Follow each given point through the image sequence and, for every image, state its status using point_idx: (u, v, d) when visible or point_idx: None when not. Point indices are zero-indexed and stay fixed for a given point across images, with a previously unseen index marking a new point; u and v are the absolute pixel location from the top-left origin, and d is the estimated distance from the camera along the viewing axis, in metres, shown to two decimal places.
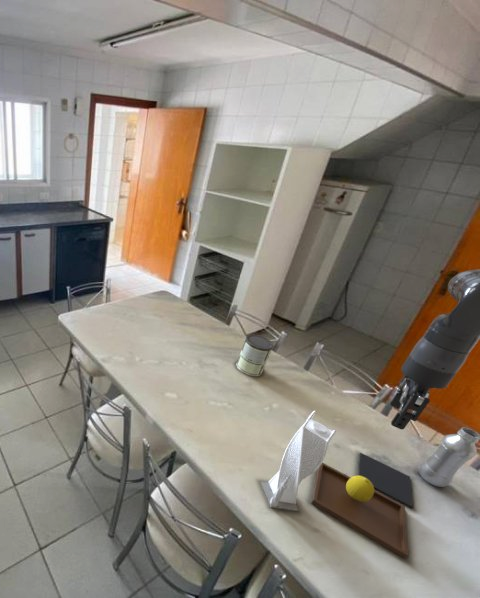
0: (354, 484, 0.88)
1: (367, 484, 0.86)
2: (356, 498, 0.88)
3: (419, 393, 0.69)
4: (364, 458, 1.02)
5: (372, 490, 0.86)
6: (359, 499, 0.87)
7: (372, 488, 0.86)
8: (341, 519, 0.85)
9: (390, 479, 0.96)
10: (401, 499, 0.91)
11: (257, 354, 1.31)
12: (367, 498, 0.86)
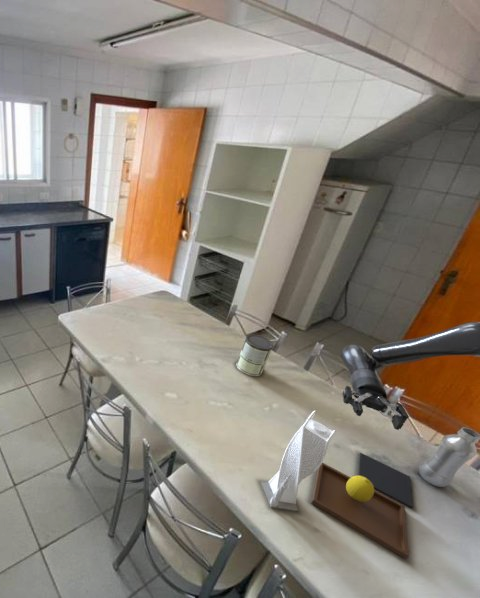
0: (354, 484, 0.88)
1: (367, 484, 0.86)
2: (356, 498, 0.88)
3: None
4: (364, 458, 1.02)
5: (372, 490, 0.86)
6: (359, 499, 0.87)
7: (372, 488, 0.86)
8: (341, 519, 0.85)
9: (390, 479, 0.96)
10: (401, 499, 0.91)
11: (257, 354, 1.31)
12: (367, 498, 0.86)
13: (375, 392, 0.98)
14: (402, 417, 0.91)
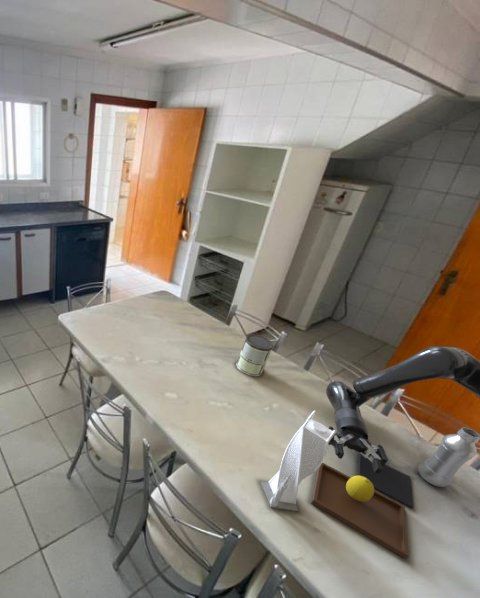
0: (354, 484, 0.88)
1: (367, 484, 0.86)
2: (356, 498, 0.88)
3: None
4: (364, 458, 1.02)
5: (372, 490, 0.86)
6: (359, 499, 0.87)
7: (372, 488, 0.86)
8: (341, 519, 0.85)
9: (390, 479, 0.96)
10: (401, 499, 0.91)
11: (257, 354, 1.31)
12: (367, 498, 0.86)
13: (356, 433, 1.01)
14: (382, 460, 0.94)
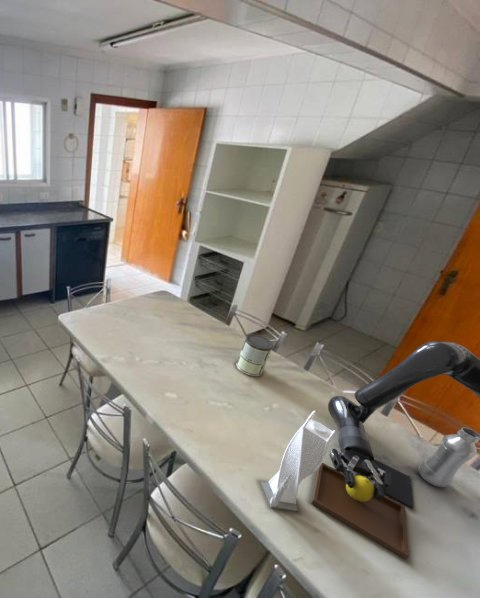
0: None
1: (367, 484, 0.86)
2: (356, 498, 0.88)
3: None
4: None
5: (372, 490, 0.86)
6: (359, 499, 0.87)
7: (372, 488, 0.86)
8: (341, 519, 0.85)
9: None
10: (401, 499, 0.91)
11: (257, 354, 1.31)
12: (367, 498, 0.86)
13: (362, 454, 0.94)
14: (384, 485, 0.87)
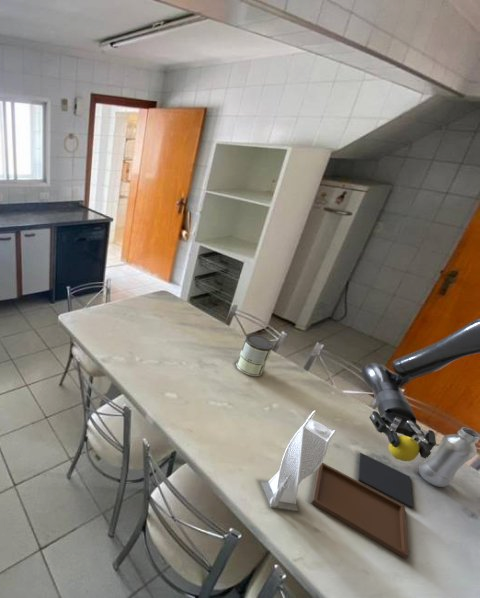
0: None
1: (412, 443, 0.85)
2: (400, 457, 0.87)
3: None
4: (364, 458, 1.02)
5: (417, 449, 0.85)
6: (404, 458, 0.87)
7: (417, 447, 0.85)
8: (341, 519, 0.85)
9: (390, 479, 0.96)
10: (401, 499, 0.91)
11: (257, 354, 1.31)
12: (412, 457, 0.86)
13: (403, 415, 0.94)
14: (429, 444, 0.86)
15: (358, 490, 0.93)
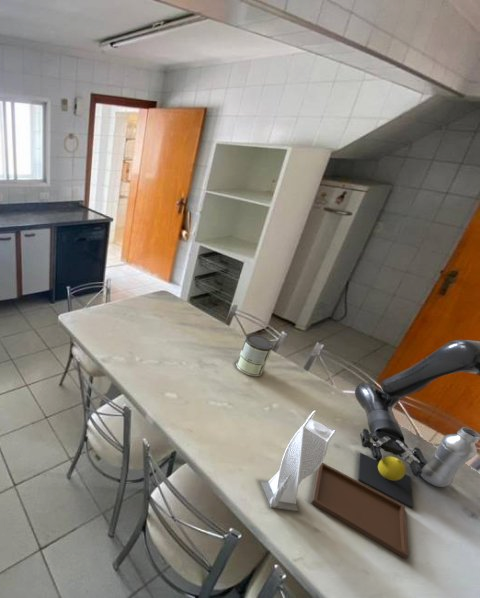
0: (386, 464, 0.94)
1: (399, 464, 0.92)
2: (388, 477, 0.94)
3: None
4: (364, 458, 1.02)
5: (404, 469, 0.92)
6: (391, 478, 0.93)
7: (404, 467, 0.92)
8: (341, 519, 0.85)
9: None
10: (401, 499, 0.91)
11: (257, 354, 1.31)
12: (399, 477, 0.92)
13: (392, 435, 1.00)
14: (420, 463, 0.93)
15: (358, 490, 0.93)
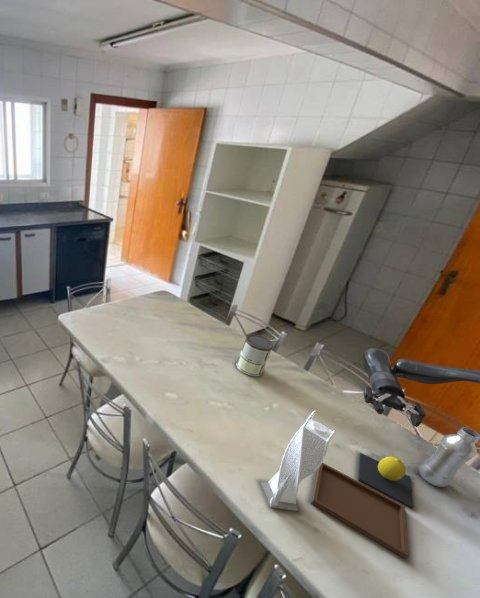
0: (386, 464, 0.94)
1: (399, 464, 0.92)
2: (388, 477, 0.94)
3: None
4: (364, 458, 1.02)
5: (404, 469, 0.92)
6: (391, 478, 0.93)
7: (404, 467, 0.92)
8: (341, 519, 0.85)
9: None
10: (401, 499, 0.91)
11: (257, 354, 1.31)
12: (399, 477, 0.92)
13: (393, 392, 1.07)
14: (420, 415, 0.99)
15: (358, 490, 0.93)
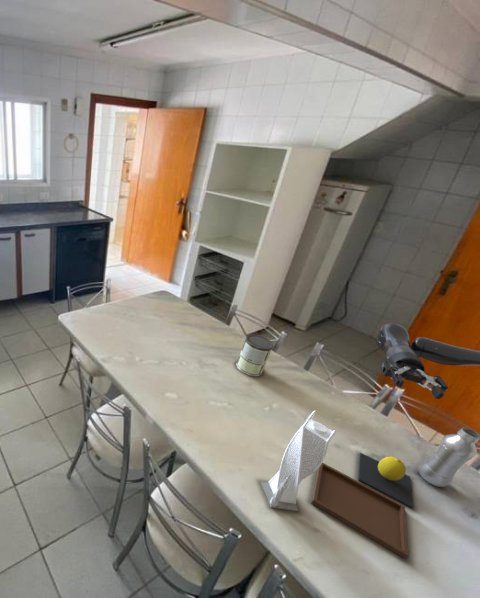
0: (386, 464, 0.94)
1: (399, 464, 0.92)
2: (388, 477, 0.94)
3: None
4: (364, 458, 1.02)
5: (404, 469, 0.92)
6: (391, 478, 0.93)
7: (404, 467, 0.92)
8: (341, 519, 0.85)
9: None
10: (401, 499, 0.91)
11: (257, 354, 1.31)
12: (399, 477, 0.92)
13: (412, 365, 1.02)
14: (442, 388, 0.94)
15: (358, 490, 0.93)
